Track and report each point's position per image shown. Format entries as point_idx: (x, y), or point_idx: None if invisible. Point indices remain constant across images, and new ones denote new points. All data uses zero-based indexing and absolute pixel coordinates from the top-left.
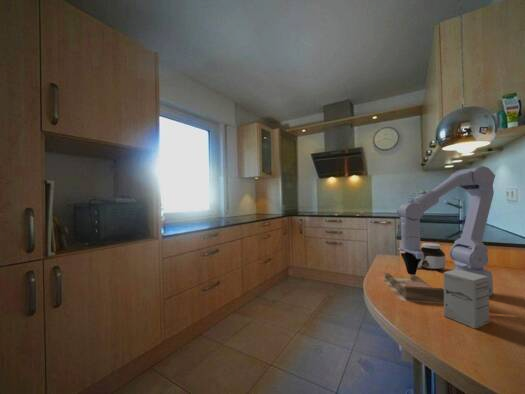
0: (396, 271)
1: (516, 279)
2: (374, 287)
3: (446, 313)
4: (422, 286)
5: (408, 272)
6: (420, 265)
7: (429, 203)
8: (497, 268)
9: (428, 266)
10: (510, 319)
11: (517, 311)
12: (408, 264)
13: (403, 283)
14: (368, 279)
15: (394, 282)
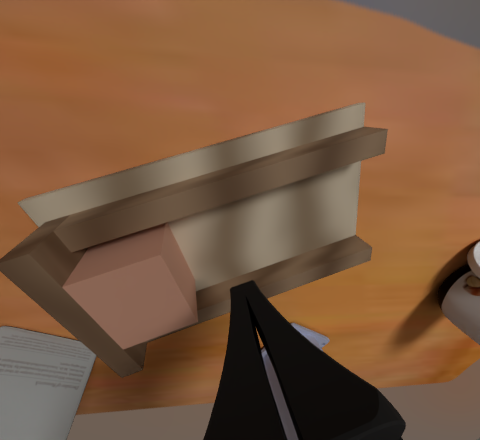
0: (456, 184)
1: (377, 385)
2: (189, 42)
3: None
4: (112, 322)
5: (234, 293)
6: (474, 269)
7: None
8: (438, 366)
9: (462, 286)
10: (130, 402)
11: (193, 402)
12: (226, 363)
13: (292, 211)
14: (340, 5)
15: (214, 181)
